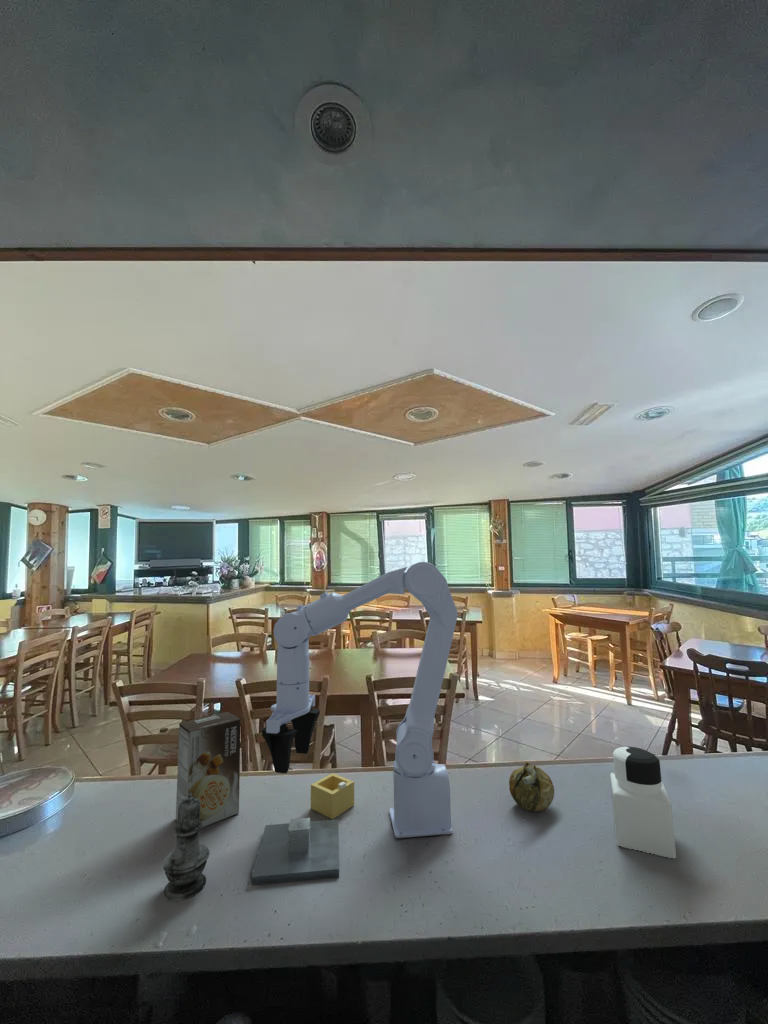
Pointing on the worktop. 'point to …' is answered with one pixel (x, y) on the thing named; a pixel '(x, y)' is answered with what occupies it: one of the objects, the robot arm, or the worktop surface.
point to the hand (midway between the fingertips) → (292, 761)
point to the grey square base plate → (298, 852)
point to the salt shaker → (186, 854)
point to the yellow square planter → (332, 795)
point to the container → (641, 803)
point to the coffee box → (210, 765)
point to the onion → (531, 788)
